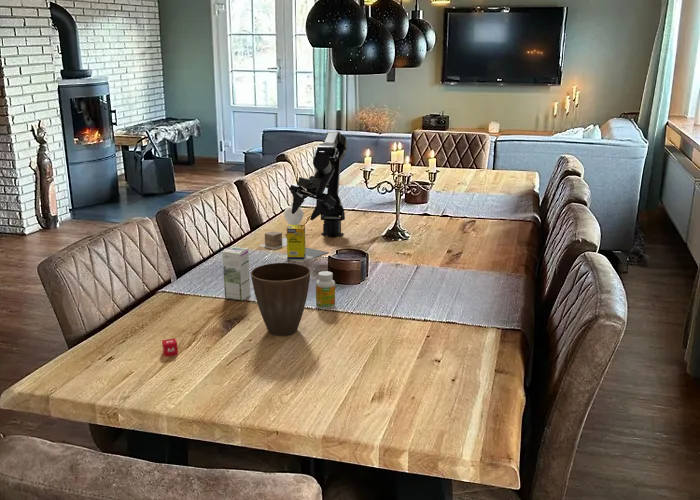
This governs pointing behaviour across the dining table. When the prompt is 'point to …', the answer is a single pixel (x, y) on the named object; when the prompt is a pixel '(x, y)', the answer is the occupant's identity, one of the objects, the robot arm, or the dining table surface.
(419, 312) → the dining table surface
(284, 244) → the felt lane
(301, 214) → the white vase
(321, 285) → the supplement bottle
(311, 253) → the plate
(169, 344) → the red letter cube
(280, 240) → the walnut block
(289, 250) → the supplement box
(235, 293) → the syrup box
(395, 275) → the dining table surface
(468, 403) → the dining table surface
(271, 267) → the plant pot
